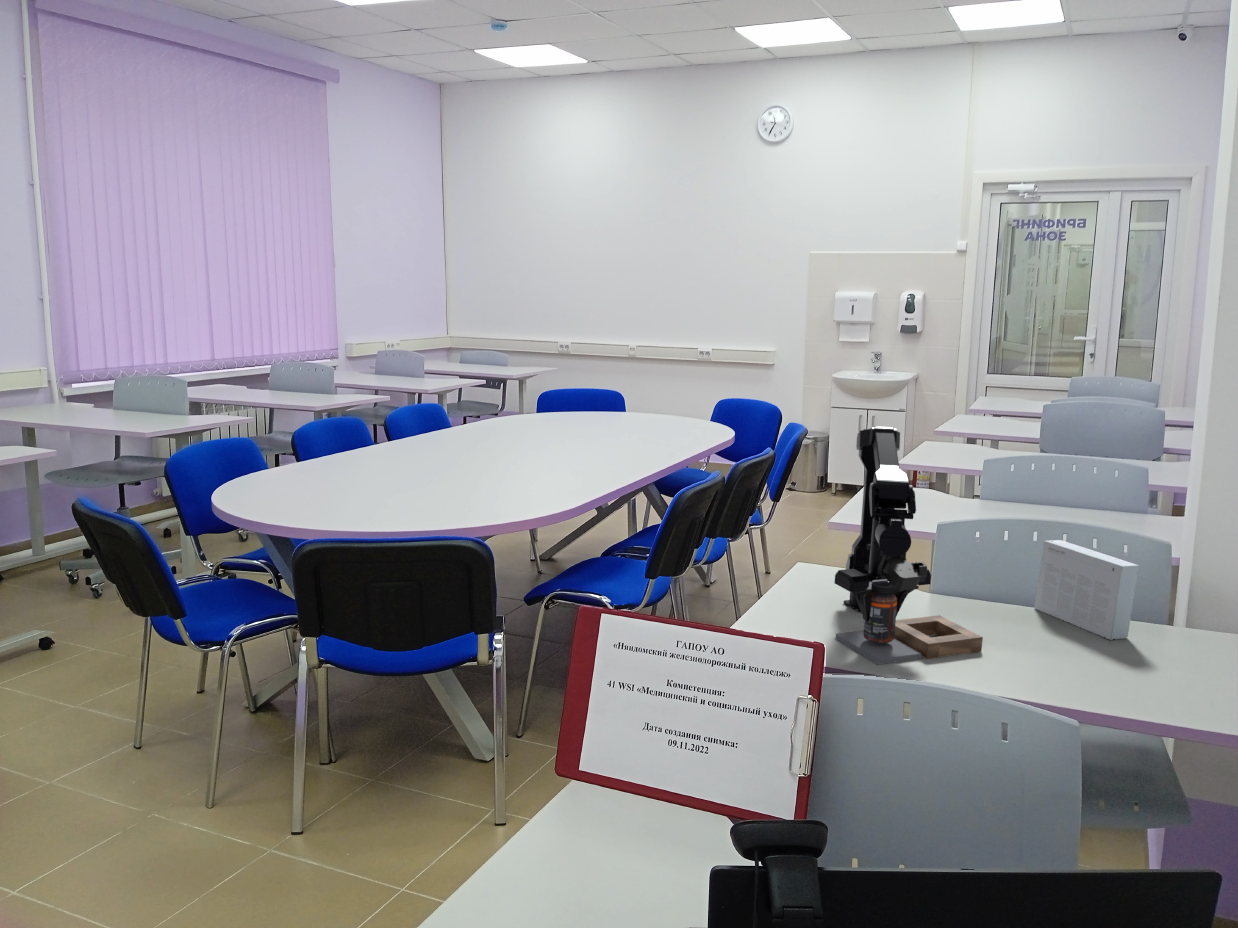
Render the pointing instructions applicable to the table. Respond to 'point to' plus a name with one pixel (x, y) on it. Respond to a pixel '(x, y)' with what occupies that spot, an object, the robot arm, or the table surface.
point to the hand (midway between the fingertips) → (879, 619)
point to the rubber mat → (878, 648)
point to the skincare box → (1086, 588)
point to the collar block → (948, 642)
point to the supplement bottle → (881, 614)
